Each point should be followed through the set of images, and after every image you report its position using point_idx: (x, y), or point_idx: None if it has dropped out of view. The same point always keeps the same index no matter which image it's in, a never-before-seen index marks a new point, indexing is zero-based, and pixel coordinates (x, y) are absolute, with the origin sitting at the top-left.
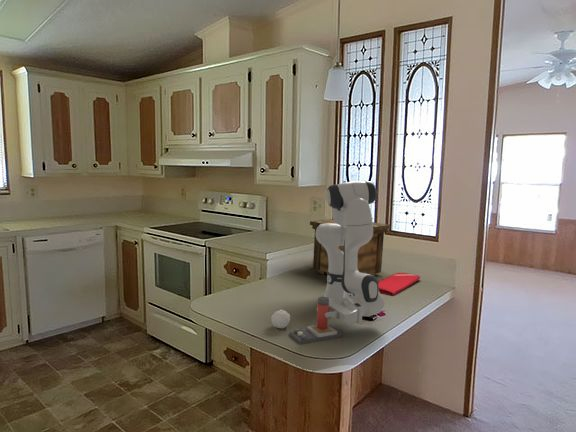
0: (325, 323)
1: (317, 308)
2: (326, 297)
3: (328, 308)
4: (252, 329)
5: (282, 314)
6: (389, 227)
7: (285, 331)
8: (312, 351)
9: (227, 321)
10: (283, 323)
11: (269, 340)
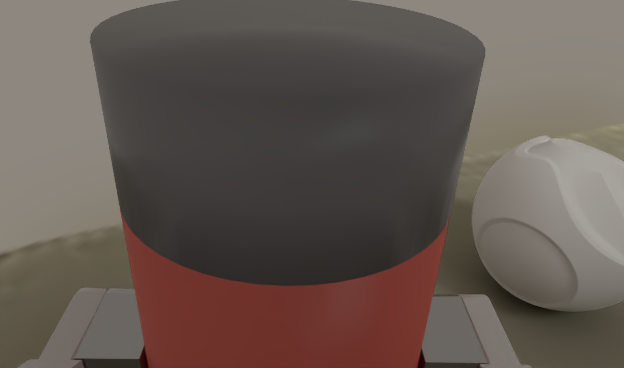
0: None
1: (443, 299)
2: (399, 90)
3: (166, 358)
4: None
5: (511, 156)
6: None
7: (454, 289)
8: (26, 299)
9: (616, 138)
10: (473, 223)
11: None
